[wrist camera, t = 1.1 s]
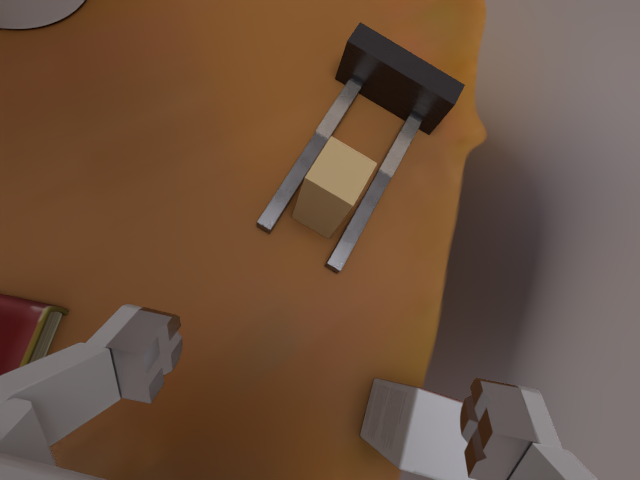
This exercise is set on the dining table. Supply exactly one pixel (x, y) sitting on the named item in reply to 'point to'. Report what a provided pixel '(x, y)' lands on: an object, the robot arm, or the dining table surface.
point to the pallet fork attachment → (390, 93)
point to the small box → (416, 430)
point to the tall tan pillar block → (332, 187)
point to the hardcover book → (25, 331)
